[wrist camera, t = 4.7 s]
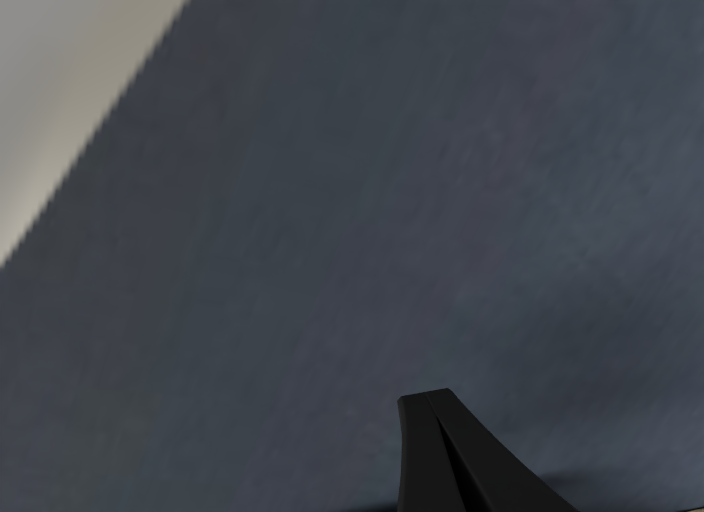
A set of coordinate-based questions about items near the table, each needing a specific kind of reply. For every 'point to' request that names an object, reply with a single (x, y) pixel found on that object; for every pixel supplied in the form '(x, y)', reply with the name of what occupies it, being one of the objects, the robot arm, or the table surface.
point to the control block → (698, 511)
